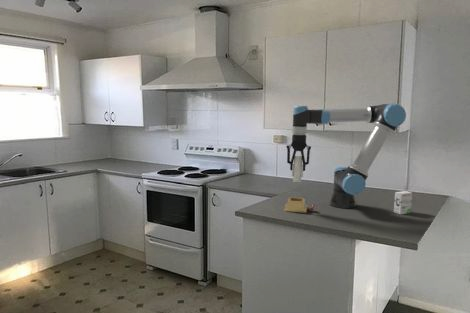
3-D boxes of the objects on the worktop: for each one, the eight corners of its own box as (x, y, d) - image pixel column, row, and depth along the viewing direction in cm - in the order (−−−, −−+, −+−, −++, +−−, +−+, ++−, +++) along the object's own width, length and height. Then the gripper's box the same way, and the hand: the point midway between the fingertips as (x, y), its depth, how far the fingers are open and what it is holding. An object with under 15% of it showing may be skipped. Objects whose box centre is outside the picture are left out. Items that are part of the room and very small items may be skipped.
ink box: (403, 210, 213) (405, 190, 211) (411, 213, 209) (413, 192, 207) (393, 212, 209) (394, 191, 208) (400, 214, 205) (402, 193, 203)
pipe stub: (301, 180, 208) (302, 156, 206) (300, 182, 204) (302, 157, 202) (293, 180, 209) (294, 155, 207) (292, 181, 205) (293, 156, 203)
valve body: (313, 209, 211) (314, 199, 210) (313, 213, 202) (313, 203, 201) (286, 207, 214) (286, 197, 214) (284, 211, 206) (284, 200, 205)
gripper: (315, 134, 205) (313, 176, 208) (284, 133, 209) (282, 174, 212) (315, 135, 198) (313, 178, 201) (282, 134, 202) (280, 176, 205)
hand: (297, 176), depth 206 cm, fingers closed on pipe stub, 4 cm apart
